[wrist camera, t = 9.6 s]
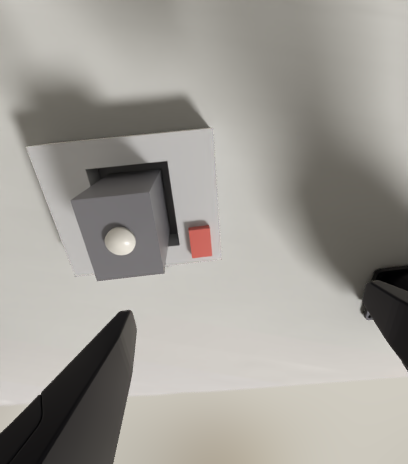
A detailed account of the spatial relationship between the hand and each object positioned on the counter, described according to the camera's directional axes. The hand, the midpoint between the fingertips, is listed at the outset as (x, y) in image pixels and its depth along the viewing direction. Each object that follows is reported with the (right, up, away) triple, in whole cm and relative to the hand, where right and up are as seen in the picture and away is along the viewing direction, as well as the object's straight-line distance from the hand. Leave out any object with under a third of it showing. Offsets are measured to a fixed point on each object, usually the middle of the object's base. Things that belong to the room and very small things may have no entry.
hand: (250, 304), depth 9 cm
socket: (-7, +5, +11) cm, 14 cm away
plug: (-7, +5, +10) cm, 14 cm away
